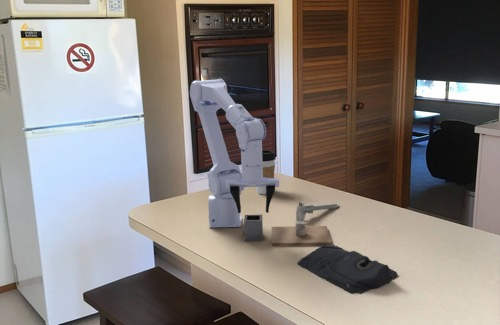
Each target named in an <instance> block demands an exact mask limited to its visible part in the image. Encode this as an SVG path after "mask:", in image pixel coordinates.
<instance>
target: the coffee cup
mask: <svg viewBox="0 0 500 325" xmlns="http://www.w3.org/2000/svg"><path fill="white" fill-rule="evenodd" d="M276 159H277V156H276V154H275V152H274V151H273V150H269V149H268V150H267V149H264V150H263V149H262V167H263V178H275V170H276V164H275V162H276V161H275V160H276ZM255 192H256V193H257V194H259V195H266V187H255Z"/></svg>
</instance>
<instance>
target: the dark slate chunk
mask: <svg viewBox="0 0 500 325" xmlns="http://www.w3.org/2000/svg"><path fill="white" fill-rule="evenodd" d="M297 265H298V266H299V267H301V268H303V269H304V270H307V271H308V272H310V273H311V274H314V275H315V276H317V277H318V278H321V279H322V280H324V281H326V282H328V283H330V284H332V285H334V286H335V287H338V288H339V289H341V290H342V291H345V292H347V293H349V294H352V295H353V294H355V293H356V294H360V295H363V294H364V293H367V292H368V291H371V290H374V289H375V290H376V289H379V288H382V287H384V286H386V285H388V284H390V282H392V281H393V280H394V279H395V278H396V277H398V276H399V275H398V273H397V271H395V270H393V268H390V267H389V265H388V264H384V263H382V262H379V261H378V260H371V259H370V258H369V256H366V255H364V254H361V253H360V252H358V251H356V250H351V251H348V250H346V249H343V248H342V247H339V246H338V245H335V244H333V243H332V244H331V245H325V246H318V248H316V249H315V250H313V251H311V252H310V253H309V254H307V255H305V256H304V257H302V258H301V259H300V260H299V261H298V262H297Z"/></svg>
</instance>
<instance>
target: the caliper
mask: <svg viewBox="0 0 500 325" xmlns="http://www.w3.org/2000/svg"><path fill="white" fill-rule="evenodd" d="M338 207H340V204H338V203H334V202H332V203H325V204H324V203H322V204H305V202H303V201H301V202H298V205H297V207H296V210H295V213H296V214H295V222H296V221H304V222H305V218H306V215H307V214H309V215H310V214H313V213H314V212H315V211H322V210H323V211H324V210H331V209H336V208H338Z"/></svg>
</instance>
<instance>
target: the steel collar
mask: <svg viewBox="0 0 500 325" xmlns="http://www.w3.org/2000/svg"><path fill="white" fill-rule="evenodd" d="M263 218H264V217H263V214H244V218H243V220H244V221H243V223H244V224H243V225H244V226H243V228H244V229H243V230H244V232H243V233H244V242H264V227H263V226H264V225H263V222H264V221H263Z"/></svg>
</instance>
